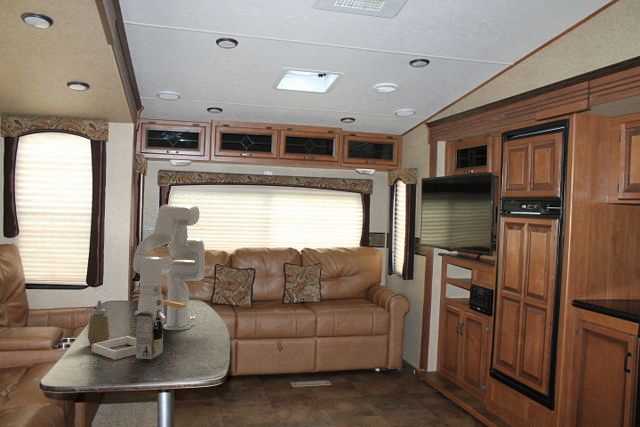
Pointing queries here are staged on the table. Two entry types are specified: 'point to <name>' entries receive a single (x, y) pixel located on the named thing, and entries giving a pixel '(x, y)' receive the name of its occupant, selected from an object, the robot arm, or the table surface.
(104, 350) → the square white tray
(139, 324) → the coffee box
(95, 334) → the squeeze bottle
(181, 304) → the bar
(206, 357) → the table surface
